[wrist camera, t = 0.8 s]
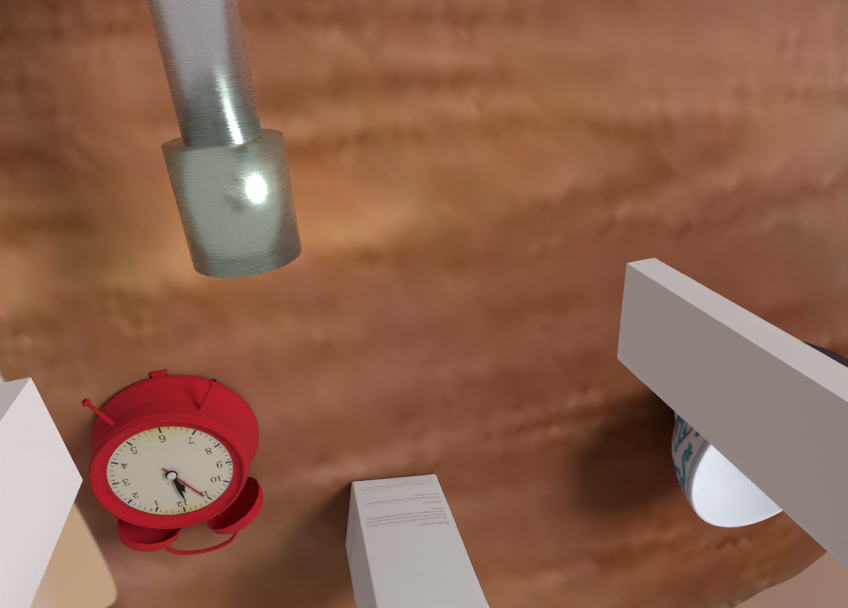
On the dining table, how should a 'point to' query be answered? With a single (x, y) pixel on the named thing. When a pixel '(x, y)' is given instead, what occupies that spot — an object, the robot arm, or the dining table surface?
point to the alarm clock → (175, 460)
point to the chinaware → (715, 482)
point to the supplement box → (407, 547)
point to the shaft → (222, 145)
